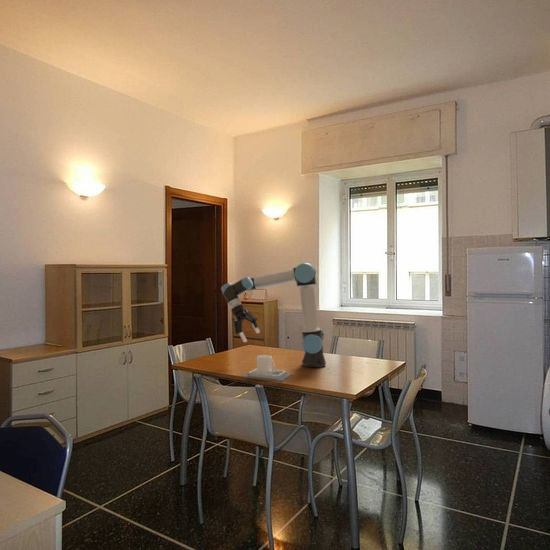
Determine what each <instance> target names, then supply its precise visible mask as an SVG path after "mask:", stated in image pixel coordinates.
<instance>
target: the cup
mask: <svg viewBox="0 0 550 550" xmlns="http://www.w3.org/2000/svg"><path fill="white" fill-rule="evenodd" d="M256 359H257V360H256V368H257V374H266V375H271V373H273V372H274V370H276V369H275V368H276V364H275V362H274V360H273V356H272V355H270V354H269V355H267V354H261V355H259V354H258V355H257V357H256Z"/></svg>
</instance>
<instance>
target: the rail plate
mask: <svg viewBox="0 0 550 550" xmlns="http://www.w3.org/2000/svg"><path fill="white" fill-rule="evenodd" d="M292 376H293V373H290V372H289V373H288V372H287V370H279V369H275V370H274V372H273V373H271V375H266V374H257V367H256V368H255V369H253V370H251V371H249V372H246V373H244V374H242V375H240V378H244V379H251V380H260V381H268V380H269V381H271V382H280V383H283V382H284V381H286V380H287V379H289V378H290V377H292ZM269 381H268V382H269Z"/></svg>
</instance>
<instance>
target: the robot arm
mask: <svg viewBox="0 0 550 550" xmlns="http://www.w3.org/2000/svg"><path fill="white" fill-rule="evenodd" d="M316 274H317V270H316V267H314V265H312V264H311V263H308V262H302V263H299V264H298V265H297V266H296V267H293V268H292V269H290V270H284V271H279V272H274V273H270V274H266V275H265V274H264V275H261V276H256V277H249V276H245V277H243V278H241V279H240V280H237V282H235V283H231V282H227V283H225V284H223V285H222V286H221V288H220V290H221V292H222V295H223V297H224V299H225V300H226V303H227V305H228V307H229V308H230V310H231V311H230V312H231V313H232V315H233V316H235V317H233V318H232V322H233V325H234V332H235V335H236V334H237V335H239V337H240V339H241V340H242V342H243V344H244V343H246V342H248V340H247V338H246V335H245V334H244V331H242V330H243V329H242V328H243V322H244V321H245V320H246V321H248V322H249V323H251V326H252V328H253V329H254V332H255V333H256V334H259V333H261V331H260V329H259V326H258V323H257V320H258V318H257V316H255V315H254V314H253V312H252V313H251V312H250V310H249V309H248V308H246V309H245V308H244V306H243V304H242V302H241V299H240V298H239V295H241V294H243V293H245V292H249V291H254V290H259V289H264V288H269V287H273V286H278V285H284V284H288V283H293V282H294V283H296V287H297V288H298V289H299V293H300V294H299V295H300V301H301V302H300V304H301V313H302V321H303V322H302V323H303V329H302V330H301V334H302V336H301V337H302V342H301V345H302V348H303V350H304V353H303V357H302V360H301V366H302V365H303V366H302V367H305V366H306V367H305V368H312V367H320V368H324V367H323V366H325V365H326V366H327V362H326V358H325V355H324V336H325V333H324V330H323V329H321V328H320V327H319V322H318V311H317V304H316V296H315V295H316V294H315V286H316V285H317V282H316V281H317V279H316ZM326 366H325V367H326Z"/></svg>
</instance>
